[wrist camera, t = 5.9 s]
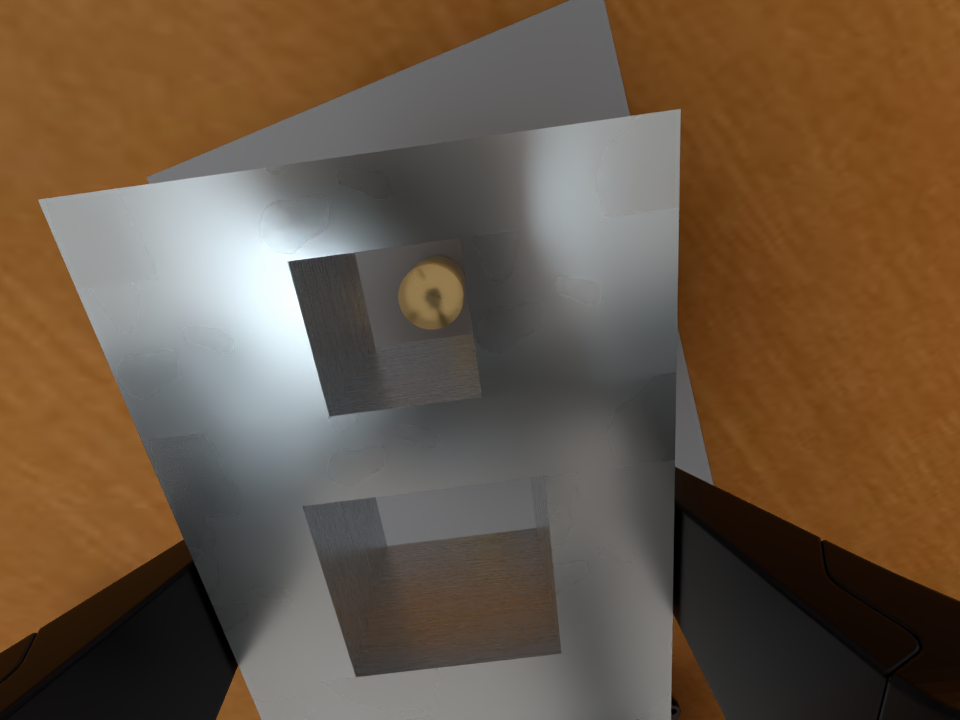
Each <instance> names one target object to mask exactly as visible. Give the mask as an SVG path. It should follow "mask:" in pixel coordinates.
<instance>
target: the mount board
mask: <svg viewBox="0 0 960 720" xmlns="http://www.w3.org/2000/svg"><path fill="white" fill-rule="evenodd" d="M627 116H630V113H629V109H628V104H627V100H626V95H625V91H624V86H623V82H622V78H621V73H620V69H619V64H618V60H617V55H616V51H615V47H614V42H613V38H612V33H611V29H610V24H609V20H608V16H607V11H606V7H605V2H604V0H569V1H567V2H565V3H562V4H560V5H557V6H555V7H553V8H550V9H548V10H546V11H543V12H541V13H538V14H536V15H534V16H531V17H529V18H526V19H524V20H522V21H519V22H517V23H514V24H512V25H510V26H507V27H505V28H503V29H500V30H498V31H495V32H493V33H491V34H488V35H486V36H483V37H481V38H479V39H476V40H474V41H471V42H469V43H467V44H464V45H462V46H460V47H457V48H455V49H452V50H450V51H448V52H445V53H443V54H440V55H438V56H436V57H433V58H431V59H428V60H426V61H424V62H421V63H419V64H417V65H414V66H412V67H409V68H407V69H405V70H402V71H400V72H397V73H395V74H393V75H390V76H388V77H386V78H383V79H381V80H378V81H376V82H374V83H371V84H369V85H366V86H364V87H362V88H359V89H357V90H354V91H352V92H350V93H347V94H345V95H343V96H340V97H338V98H335V99H333V100H331V101H328V102H326V103H323V104H321V105H319V106H316V107H314V108H311V109H309V110H307V111H304V112H302V113H300V114H297V115H295V116H292V117H290V118H288V119H285V120H283V121H280V122H278V123H276V124H273V125H271V126H269V127H266V128H264V129H261V130H259V131H257V132H254V133H252V134H249V135H247V136H245V137H242V138H240V139H237V140H235V141H233V142H230V143H228V144H226V145H223V146H221V147H218V148H216V149H214V150H211V151H209V152H206V153H204V154H202V155H199V156H197V157H194V158H192V159H190V160H187V161H185V162H183V163H180V164H178V165H175V166H173V167H171V168H168V169H166V170H163V171H161V172H159V173H156V174H154V175H151V176H149V177H147V180H148V182H149V184H153V183H161V182H168V181H175V180H182V179H189V178H196V177H203V176H210V175H217V174H224V173H231V172H238V171H245V170H252V169H259V168H267V167H274V166H281V165H288V164H295V163H302V162H309V161H316V160H323V159H330V158H337V157H344V156H351V155H358V154H366V153H373V152H380V151H387V150H394V149H401V148H408V147H415V146H422V145H429V144H436V143H443V142H450V141H457V140H465V139H472V138H479V137H486V136H493V135H500V134H507V133H514V132H521V131H528V130H535V129H542V128H549V127H556V126H564V125H571V124H578V123H585V122H592V121H599V120H606V119H613V118H620V117H627ZM431 255H444V256H447V257H450V258H451V259H453V260H454V261H456V262H457V263H458V265H459V266H460V267H461V269H462V271H463V274H464V278H465V272H464V265H463V258H462V250H461V243H460V238H456V239H449V240H441V241H434V242H427V243H420V244H412V245H405V246H398V247H390V248H383V249H376V250H368V251H361V252H355V256H356V261H357V266H358V270H359V275H360V279H361V284H362V288H363V293H364V298H365V302H366V307H367V311H368V316H369V321H370V325H371V330H372V334H373V339H374V343H375V347H378V346H386V345H393V344H401V343H408V342H416V341H424V340H431V339H439V338H447V337H454V336H462V335H469V334H473V329H472V322H471V315H470V307H469V300H468V293H467V286H466V279H465V287H464V298H463V305H462V309H461V311H460V313H459V315H458V317H457V318H456V319H455V320H454V321H453V322H452V323H451V324H449V325H447V326H446V327H443V328H440V329H434V330H429V329H423V328H420V327H418V326H416V325H414V324H413V323H411V322H410V321H409V320H408V319H407V318H406V317H405V316H404V314H403V313H402V311H401V308H400V305H399V301H398V292H399V287H400V285H401V282H402V280H403V279H404V278H405V276H406V275H407V274H408V273H409V272H410V271H411V270H412V269H413V268H414V267H415V266H416V265H417V264H418V263H419V262H420V261H421V260H422V259H424V258H426V257H428V256H431ZM675 467H677V468H679V469H681V470H683V471H685V472H687V473H689V474H691V475H693V476H695V477H697V478H699V479H702V480H704V481H706V482H708V483H710V484H712V485H713V481H712V476H711V472H710V467H709V463H708V458H707V454H706V450H705V445H704V441H703V436H702V432H701V427H700V423H699V419H698V414H697V410H696V405H695V401H694V396H693V392H692V388H691V383H690V379H689V374H688V370H687V365H686V361H685V357H684V352H683V348H682V343H681V339H680V334H679V330H678V326H677V370H676V433H675ZM375 498H376V502H377V506H378V510H379V514H380V518H381V522H382V526H383V530H384V534H385V538H386V542H387V546H392V545H400V544H408V543H416V542H425V541H433V540H441V539H449V538H458V537H466V536H474V535H482V534H491V533H499V532H507V531H515V530H524V529H532V528H536V523H535V514H534V505H533V496H532V487H531V478H526V479H518V480H510V481H502V482H494V483H486V484H478V485H470V486H461V487H453V488H445V489H437V490H429V491H421V492H413V493H405V494H397V495H389V496H381V497H375Z"/></svg>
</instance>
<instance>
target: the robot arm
mask: <svg viewBox="0 0 960 720" xmlns="http://www.w3.org/2000/svg"><path fill="white" fill-rule="evenodd" d="M673 614H674V616H675V618H676V620H677V622H678V624H679V626H680V628H681V630H682V632H683V634H684V636H685V638H686V640H687V642H688V644H689V646H690V648H691V650H692V652H693V654H694V656H695V658H696V660H697V662H698V664H699V666H700V668H701V670H702V672H703V674H704V676H705V678H706V680H707V682H708V684H709V686H710V688H711V690H712V692H713V694H714V696H715V698H716V700H717V702H718V704H719V706H720V708H721V710H722V712H723V714H724V716H725V718H726V720H960V601H958V600H956V599H953V598H951V597H949V596H946V595H944V594H941V593H939V592H937V591H935V590H932V589H930V588H928V587H925V586H923V585H921V584H919V583H916V582H914V581H912V580H909V579H907V578H905V577H902V576H900V575H898V574H896V573H893V572H891V571H889V570H887V569H885V568H883V567H881V566H878V565H876V564H874V563H872V562H870V561H868V560H866V559H864V558H861V557H859V556H857V555H855V554H853V553H851V552H849V551H847V550H845V549H843V548H841V547H839V546H837V545H835V544H832V543H830V542H828V541H826V540H823V541H822V542H821V539H820V537H818V536H816V535H814V534H812V533H810V532H808V531H806V530H804V529H802V528H800V527H797V526H795V525H793V524H791V523H789V522H787V521H785V520H783V519H781V518H779V517H777V516H775V515H773V514H771V513H769V512H767V511H765V510H763V509H761V508H759V507H757V506H755V505H753V504H751V503H748V502H746V501H744V500H742V499H740V498H738V497H736V496H734V495H732V494H730V493H728V492H726V491H724V490H722V489H720V488H718V487H716V486H714V485H712V484H710V483H708V482H706V481H704V480H702V479H699V478H697V477H695V476H693V475H691V474H689V473H687V472H685V471H683V470H681V469H679V468H677V467H675V496H674V559H673ZM237 667H238V663H237V661H236V659H235V656H234V654H233V652H232V649H231V647H230V645H229V642H228V640H227V638H226V635H225V633H224V631H223V628H222V626H221V624H220V621H219V619H218V617H217V615H216V612H215V610H214V608H213V605H212V603H211V601H210V598H209V596H208V594H207V591H206V589H205V587H204V584H203V582H202V580H201V577H200V575H199V573H198V570H197V568H196V566H195V563H194V561H193V559H192V556H191V554H190V552H189V549H188V547H187V545H186V542H185V540H182V541H181V542H179V543H177V544H176V545H174V546H172V547H171V548H169V549H168V550H166V551H164V552H163V553H161V554H160V555H158V556H156V557H155V558H153V559H152V560H150V561H148V562H147V563H145V564H143V565H142V566H140V567H139V568H137V569H135V570H134V571H132V572H131V573H129V574H127V575H126V576H124V577H123V578H121V579H119V580H118V581H116V582H114V583H113V584H111V585H110V586H108V587H106V588H105V589H103V590H102V591H100V592H98V593H97V594H95V595H94V596H92V597H90V598H89V599H87V600H85V601H84V602H82V603H81V604H79V605H77V606H76V607H74V608H73V609H71V610H69V611H68V612H66V613H65V614H63V615H61V616H60V617H58V618H56V619H55V620H53V621H52V622H50V623H48V624H47V625H45V626H44V627H42V628H41V629H40V630H39V631H38V633H32V634H31V635H29V636H27V637H26V638H24V639H22V640H21V641H19V642H18V643H16V644H14V645H13V646H11V647H10V648H8V649H6V650H5V651H3V652H1V653H0V720H216V718H217V716H218V713H219V711H220V708H221V706H222V703H223V701H224V698H225V696H226V694H227V691H228V689H229V686H230V684H231V681H232V679H233V676H234V674H235V672H236V669H237ZM680 712H681V710H680V707H679V704H678V702H677V701H676V700H673V699H671V720H676V719H677V717H678V716H679V714H680Z"/></svg>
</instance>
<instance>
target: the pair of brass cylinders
mask: <svg viewBox="0 0 960 720" xmlns="http://www.w3.org/2000/svg"><path fill="white" fill-rule="evenodd" d="M464 287H465V278H464V274H463V271H462V269H461V267H460V266H459V265H458V263H457V262H456V261H454V260H453V259H451V258H450V257H447V256H444V255H431V256H428V257H426V258H424V259H422V260H421V261H420V262H419V263H418V264H417V265H416V266H415V267H414V268H413V269H412V270H411V271H410V272H409V273H408V274H407V275H406V276H405V278H404V279H403V280H402V282H401V285H400V287H399V292H398V301H399V305H400V308H401V311H402V313H403V314H404V316H405V317H406V318H407V319H408V320H409V321H410V322H411V323H413V324H414V325H416V326H418V327H420V328H423V329H429V330H434V329H440V328H443V327H446V326H447V325H449V324H451V323H452V322H453V321H454V320H455V319H456V318H457V317H458V315H459V313H460V311H461V309H462V305H463V298H464Z"/></svg>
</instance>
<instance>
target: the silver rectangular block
mask: <svg viewBox="0 0 960 720" xmlns="http://www.w3.org/2000/svg"><path fill="white" fill-rule="evenodd" d="M680 119H681V109H677V110H670V111H663V112H655V113H648V114H641V115H634V116H627V117H620V118H613V119H606V120H599V121H592V122H585V123H578V124H571V125H564V126H556V127H549V128H542V129H535V130H528V131H521V132H514V133H507V134H500V135H493V136H486V137H479V138H472V139H465V140H457V141H450V142H443V143H436V144H429V145H422V146H415V147H408V148H401V149H394V150H387V151H380V152H373V153H366V154H358V155H351V156H344V157H337V158H330V159H323V160H316V161H309V162H302V163H295V164H288V165H281V166H274V167H267V168H259V169H252V170H245V171H238V172H231V173H224V174H217V175H210V176H203V177H196V178H189V179H182V180H175V181H168V182H161V183H153V184H146V185H139V186H132V187H125V188H118V189H111V190H104V191H97V192H90V193H83V194H76V195H69V196H62V197H54V198H47V199H40V200H38V201H39V203H40V206H41V208H42V210H43V213H44V215H45V217H46V220H47V222H48V224H49V227H50V229H51V231H52V234H53V236H54V238H55V240H56V243H57V245H58V247H59V250H60V252H61V254H62V257H63V259H64V261H65V264H66V266H67V268H68V271H69V273H70V275H71V278H72V280H73V282H74V285H75V287H76V289H77V292H78V294H79V296H80V299H81V301H82V303H83V306H84V308H85V310H86V313H87V315H88V317H89V319H90V322H91V324H92V326H93V329H94V331H95V333H96V336H97V338H98V340H99V343H100V345H101V347H102V350H103V352H104V354H105V357H106V359H107V361H108V364H109V366H110V368H111V371H112V373H113V375H114V378H115V380H116V382H117V385H118V387H119V389H120V391H121V394H122V396H123V398H124V401H125V403H126V405H127V408H128V410H129V412H130V415H131V417H132V419H133V422H134V424H135V426H136V429H137V431H138V433H139V436H140V438H141V440H142V443H143V445H144V447H145V450H146V452H147V454H148V457H149V459H150V461H151V464H152V466H153V468H154V470H155V473H156V475H157V477H158V480H159V482H160V484H161V487H162V489H163V491H164V494H165V496H166V498H167V501H168V503H169V505H170V508H171V510H172V512H173V515H174V517H175V519H176V522H177V524H178V526H179V529H180V531H181V533H182V536H183V538H184V540H185V542H186V545H187V547H188V549H189V552H190V554H191V556H192V559H193V561H194V563H195V566H196V568H197V570H198V573H199V575H200V577H201V580H202V582H203V584H204V587H205V589H206V591H207V594H208V596H209V598H210V601H211V603H212V605H213V608H214V610H215V612H216V615H217V617H218V619H219V621H220V624H221V626H222V628H223V631H224V633H225V635H226V638H227V640H228V642H229V645H230V647H231V649H232V652H233V654H234V656H235V659H236V661H237V663H238V666H239V668H240V670H241V673H242V675H243V677H244V680H245V682H246V684H247V687H248V689H249V691H250V693H251V696H252V698H253V700H254V703H255V705H256V707H257V710H258V712H259V714H260V717H261V719H262V720H671V684H672V622H673V559H674V496H675V433H676V370H677V307H678V245H679V182H680ZM456 238H460V243H461V250H462V258H463V265H464V272H465V279H466V286H467V293H468V300H469V307H470V315H471V322H472V329H473V334H469V335H462V336H454V337H447V338H439V339H431V340H424V341H416V342H408V343H401V344H393V345H386V346H378V347H375V343H374V339H373V334H372V330H371V325H370V321H369V316H368V311H367V307H366V302H365V298H364V293H363V288H362V284H361V279H360V275H359V270H358V266H357V261H356V256H355V252H361V251H368V250H376V249H383V248H390V247H398V246H405V245H412V244H420V243H427V242H434V241H441V240H449V239H456ZM526 478H531V487H532V496H533V505H534V514H535V523H536V528H532V529H524V530H515V531H507V532H499V533H491V534H482V535H474V536H466V537H458V538H449V539H441V540H433V541H425V542H416V543H408V544H400V545H392V546H387V542H386V538H385V534H384V530H383V526H382V522H381V518H380V514H379V510H378V506H377V502H376V498H375V497H381V496H389V495H397V494H405V493H413V492H421V491H429V490H437V489H445V488H453V487H461V486H470V485H478V484H486V483H494V482H502V481H510V480H518V479H526Z"/></svg>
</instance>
